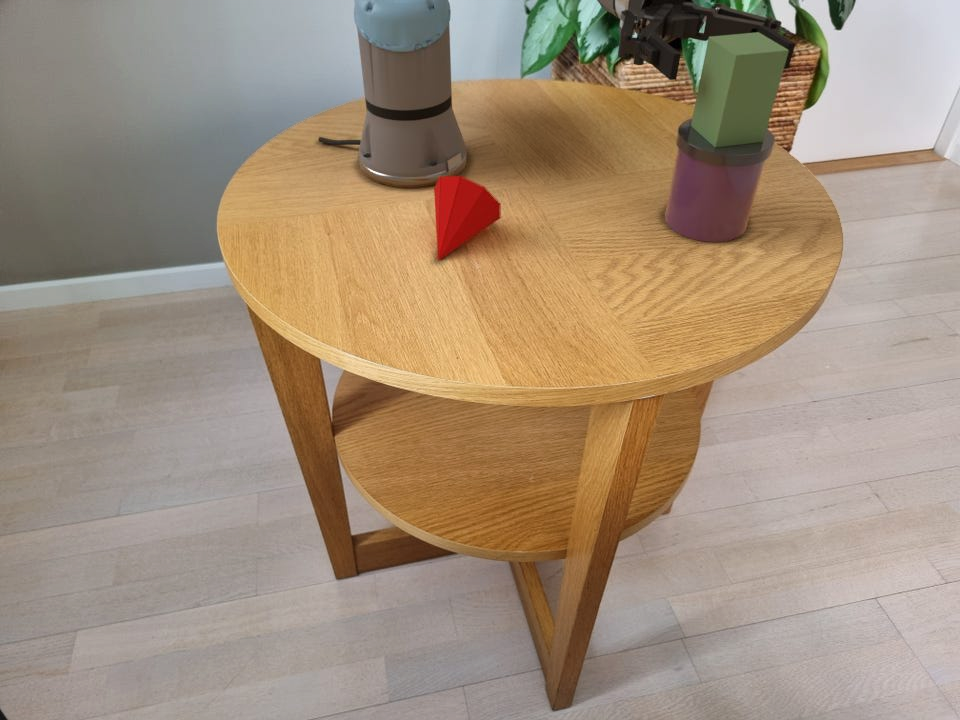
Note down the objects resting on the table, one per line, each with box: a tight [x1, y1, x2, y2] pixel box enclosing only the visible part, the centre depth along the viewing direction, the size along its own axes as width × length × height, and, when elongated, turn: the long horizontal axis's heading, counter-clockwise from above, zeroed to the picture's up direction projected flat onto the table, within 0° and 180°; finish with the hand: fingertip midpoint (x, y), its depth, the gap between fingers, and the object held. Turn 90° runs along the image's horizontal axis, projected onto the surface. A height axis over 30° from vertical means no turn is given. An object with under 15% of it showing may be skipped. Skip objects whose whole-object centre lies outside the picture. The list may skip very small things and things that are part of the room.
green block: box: [691, 32, 789, 148], centre depth 77 cm, size 6×6×10 cm
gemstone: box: [433, 175, 502, 261], centre depth 83 cm, size 9×9×10 cm
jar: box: [664, 117, 776, 243], centre depth 84 cm, size 11×11×11 cm
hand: (733, 61), depth 76 cm, fingers open, 13 cm apart
